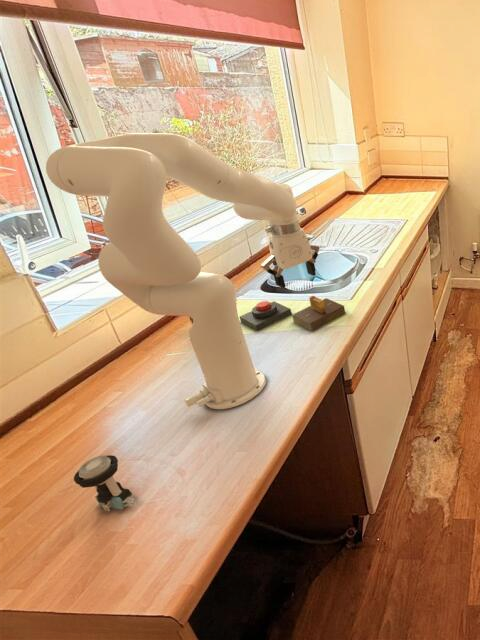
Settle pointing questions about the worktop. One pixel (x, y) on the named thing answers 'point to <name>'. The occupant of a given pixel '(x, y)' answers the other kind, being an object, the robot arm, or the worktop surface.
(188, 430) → the worktop surface
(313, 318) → the plate
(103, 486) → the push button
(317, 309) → the lock turn
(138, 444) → the worktop surface
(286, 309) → the doorbell
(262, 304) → the bell button
